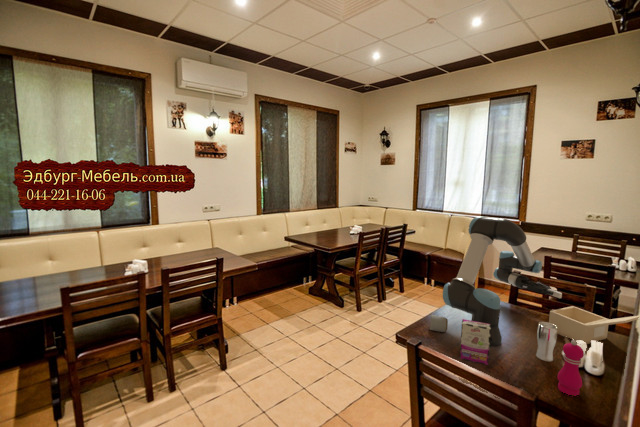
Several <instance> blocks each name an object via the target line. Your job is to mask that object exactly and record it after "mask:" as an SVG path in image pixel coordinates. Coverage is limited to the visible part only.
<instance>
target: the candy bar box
mask: <svg viewBox="0 0 640 427" xmlns="http://www.w3.org/2000/svg"><path fill="white" fill-rule="evenodd" d="M460 331H461V334H460V349H459V350H460V352H459V359H461V360H465V361H468V362H469V361H470V362H472V363H473V362H474V363H476V364H477V363H478V364H483V365H486V366H488V365H489V359H490V347H491V346H490V333H491V328H490V324H487V323H482V322H476V321H471V319H465V318H462V319H461V330H460Z"/></svg>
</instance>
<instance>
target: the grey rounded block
mask: <svg viewBox="0 0 640 427" xmlns="http://www.w3.org/2000/svg"><path fill="white" fill-rule="evenodd" d="M448 323H449V321H448V318H447V317H445V316H444V317H443V316H439V315H435V314H430V322H429V324H430V326H429V330H430V331H434V332H441V333H447V332H448Z"/></svg>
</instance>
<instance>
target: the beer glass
mask: <svg viewBox="0 0 640 427" xmlns="http://www.w3.org/2000/svg"><path fill="white" fill-rule="evenodd" d="M557 339H558V334H557V326H555V325H554V324H551V323H549V321H547V322H546V321H539V322H538V326H537V332H536V340H537V350H536V354H535V356H536V357H537V358H538V359H539V360H542V361H545V362H548V363H549V362H553V361H554V356H553V354H554V348H555V347H556V344H557Z"/></svg>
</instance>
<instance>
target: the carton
mask: <svg viewBox="0 0 640 427" xmlns="http://www.w3.org/2000/svg"><path fill="white" fill-rule="evenodd" d="M605 320H609V318H606V317H604V316H602V315H598V314H596V313H593V312H591V311H589V310H585V309H582V308H579V307H576V306H574V305H571V306H567V307H563V308H557V309H553V310H550V311H549V316H548V323H551V324H554V325H555V326H557V335H560V336H562V337H564V336H567V337H568V338H570V339H572V338H573V339H574V340H583V341H584V342H586V343H587V344H586V345H589V344H591V343H590V341H591V340H597V341H596V342H599V340H600V341H604V340H606V338H608V332H609V331H608V330H609V325H602V326H594V327H586V325H590V324H594V323H598V322H601V321H605ZM568 338H567V339H568ZM570 339H569V340H570Z"/></svg>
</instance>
